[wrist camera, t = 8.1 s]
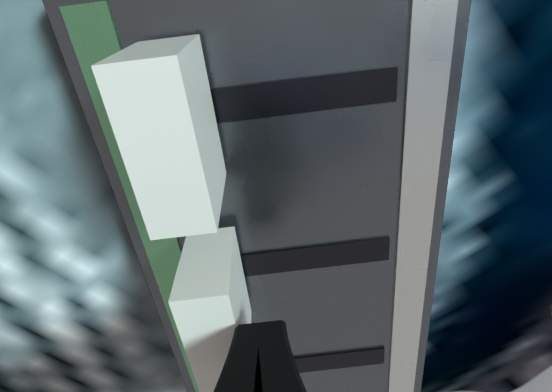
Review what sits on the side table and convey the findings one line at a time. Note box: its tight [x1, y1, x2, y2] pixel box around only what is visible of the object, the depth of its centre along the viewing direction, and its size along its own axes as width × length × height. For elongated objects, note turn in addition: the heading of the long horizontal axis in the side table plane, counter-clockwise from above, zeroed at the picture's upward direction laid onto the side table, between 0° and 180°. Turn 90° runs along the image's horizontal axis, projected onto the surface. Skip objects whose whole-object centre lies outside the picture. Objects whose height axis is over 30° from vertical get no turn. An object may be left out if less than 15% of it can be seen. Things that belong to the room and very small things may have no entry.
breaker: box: [91, 34, 226, 240], centre depth 9 cm, size 2×4×3 cm, turn 7°
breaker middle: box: [168, 226, 251, 392], centre depth 12 cm, size 2×4×3 cm, turn 6°
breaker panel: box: [42, 0, 471, 392], centre depth 15 cm, size 11×19×2 cm, turn 6°
